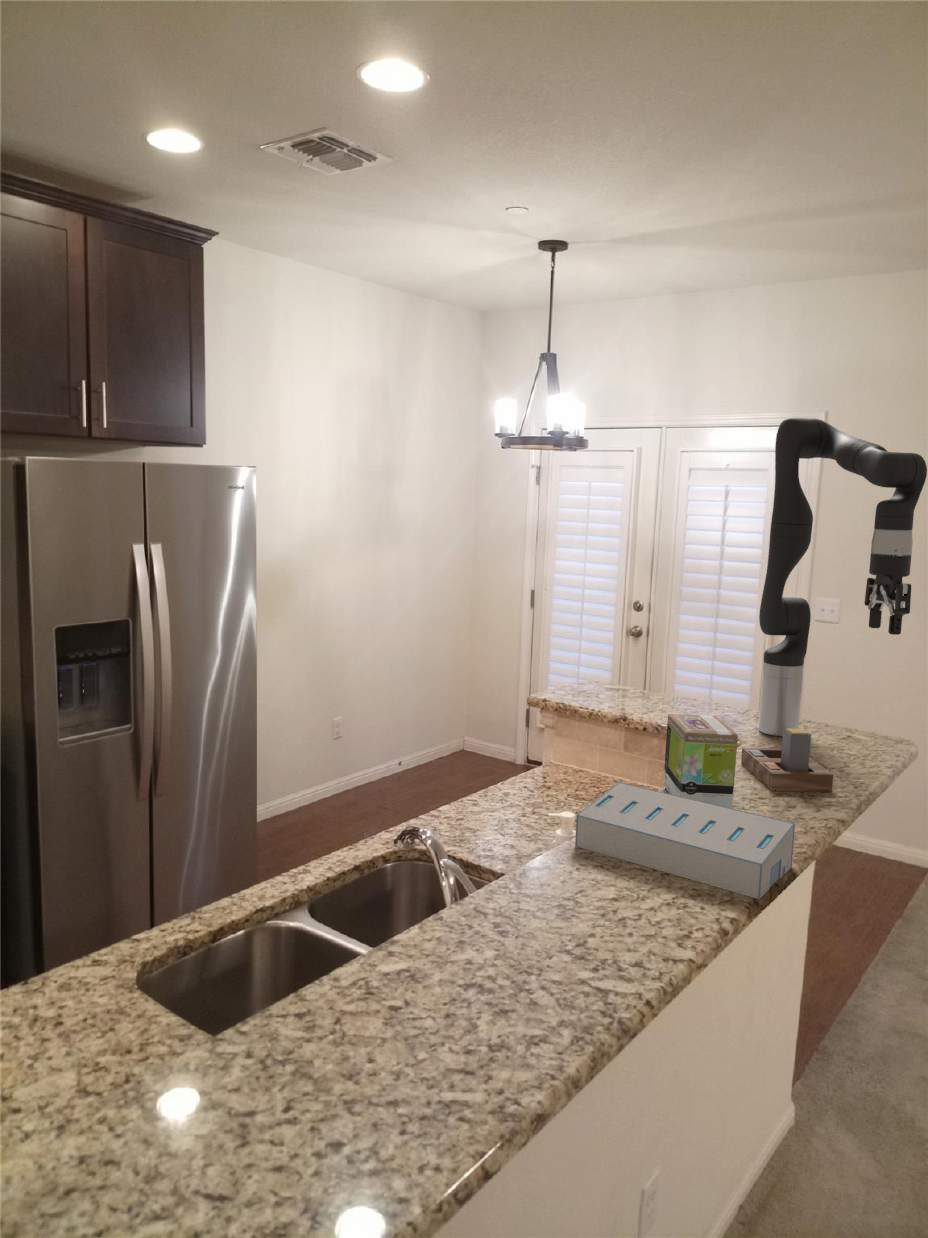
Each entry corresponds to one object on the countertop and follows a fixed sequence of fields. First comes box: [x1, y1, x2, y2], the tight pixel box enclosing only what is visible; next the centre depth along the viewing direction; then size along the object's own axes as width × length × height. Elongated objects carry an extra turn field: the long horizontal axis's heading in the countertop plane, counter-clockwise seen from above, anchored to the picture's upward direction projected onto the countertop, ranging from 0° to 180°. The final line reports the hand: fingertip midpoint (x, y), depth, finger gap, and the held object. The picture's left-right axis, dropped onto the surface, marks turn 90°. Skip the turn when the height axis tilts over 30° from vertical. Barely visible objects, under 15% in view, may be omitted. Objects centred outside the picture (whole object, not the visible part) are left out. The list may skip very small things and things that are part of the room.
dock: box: [740, 747, 834, 793], centre depth 183 cm, size 18×12×4 cm, turn 1°
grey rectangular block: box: [780, 728, 812, 772], centre depth 178 cm, size 4×4×10 cm
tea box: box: [663, 713, 739, 809], centre depth 168 cm, size 15×10×15 cm, turn 179°
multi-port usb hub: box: [574, 781, 796, 900], centre depth 141 cm, size 30×14×8 cm, turn 53°
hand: (884, 631), depth 184 cm, fingers open, 8 cm apart
